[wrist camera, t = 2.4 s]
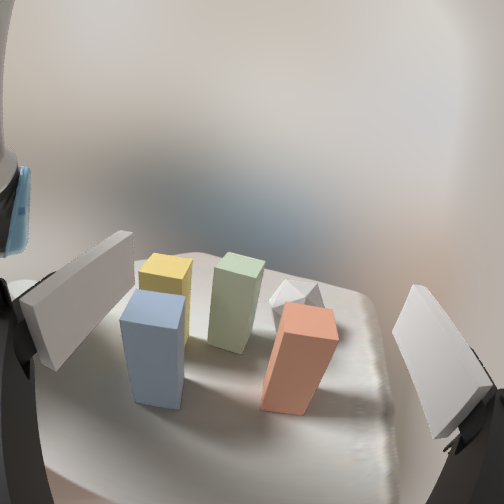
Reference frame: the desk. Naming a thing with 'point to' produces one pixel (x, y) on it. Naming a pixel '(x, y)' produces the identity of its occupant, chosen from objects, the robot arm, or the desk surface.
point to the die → (294, 297)
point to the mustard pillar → (168, 279)
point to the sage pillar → (234, 301)
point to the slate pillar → (155, 347)
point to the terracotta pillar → (298, 358)
